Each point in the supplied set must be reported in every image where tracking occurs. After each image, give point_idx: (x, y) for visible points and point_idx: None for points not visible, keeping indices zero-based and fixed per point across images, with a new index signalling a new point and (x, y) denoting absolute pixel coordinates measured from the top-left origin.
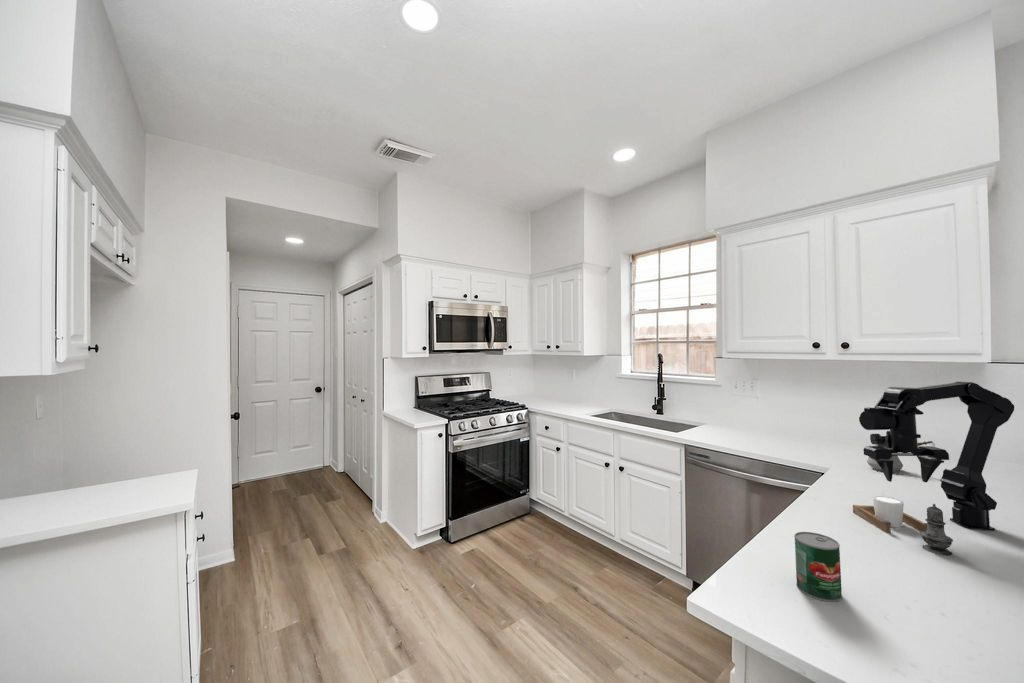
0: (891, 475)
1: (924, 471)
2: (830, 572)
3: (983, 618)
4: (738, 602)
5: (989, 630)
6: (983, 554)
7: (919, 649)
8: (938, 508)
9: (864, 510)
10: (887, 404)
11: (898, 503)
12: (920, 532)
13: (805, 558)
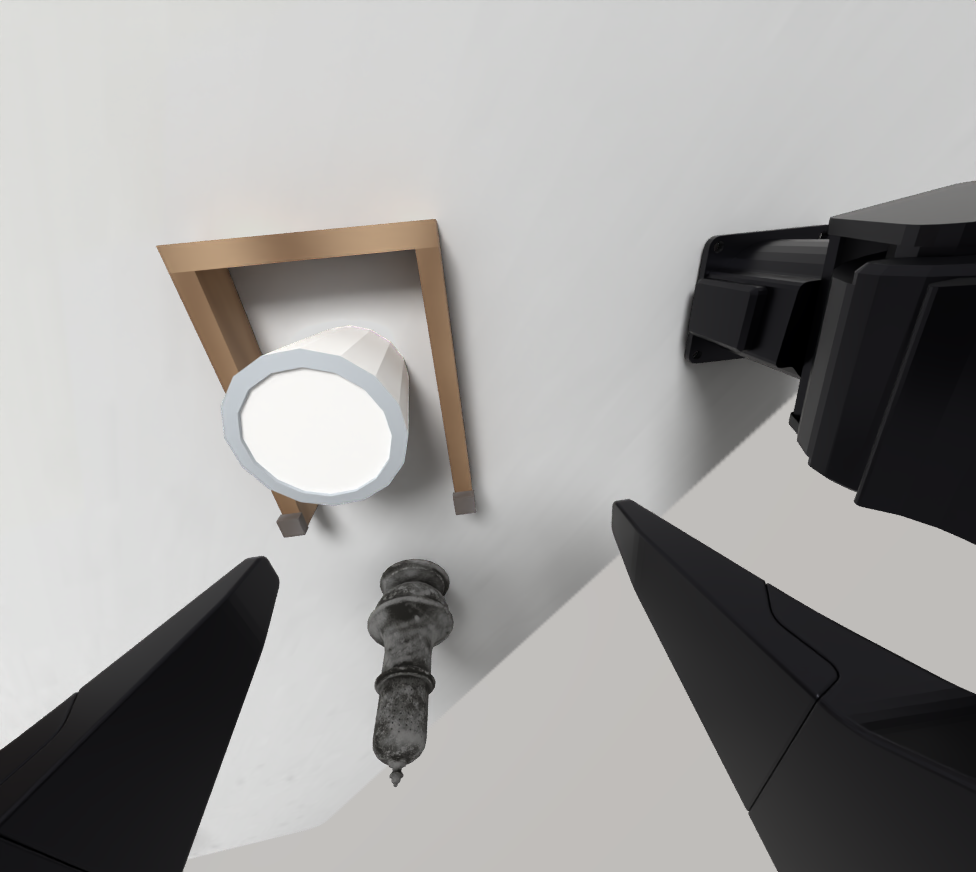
0: (239, 685)
1: (684, 634)
2: None
3: (347, 769)
4: None
5: (338, 785)
6: (534, 569)
7: (229, 830)
8: (411, 759)
9: (223, 360)
10: None
11: (361, 492)
12: (372, 615)
13: None
